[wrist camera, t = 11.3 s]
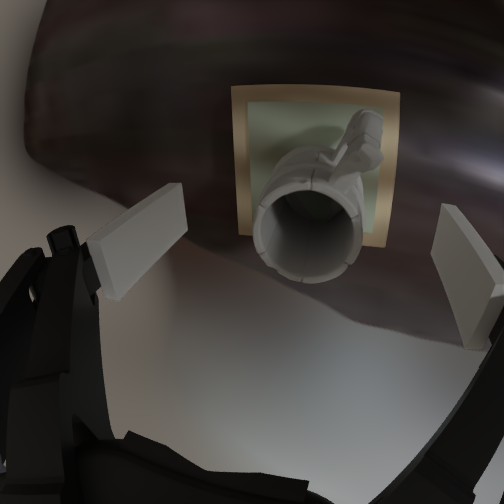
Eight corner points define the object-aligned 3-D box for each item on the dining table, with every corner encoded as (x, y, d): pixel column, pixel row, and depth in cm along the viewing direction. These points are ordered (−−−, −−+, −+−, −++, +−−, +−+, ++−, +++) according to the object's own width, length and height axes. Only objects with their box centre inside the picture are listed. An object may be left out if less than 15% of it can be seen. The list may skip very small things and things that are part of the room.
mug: (257, 199, 27) (206, 270, 17) (324, 83, 21) (316, 68, 11) (330, 243, 27) (321, 335, 17) (404, 135, 21) (459, 169, 11)
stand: (241, 86, 26) (229, 86, 23) (393, 93, 22) (401, 92, 19) (247, 222, 32) (237, 236, 29) (381, 233, 29) (385, 249, 26)
